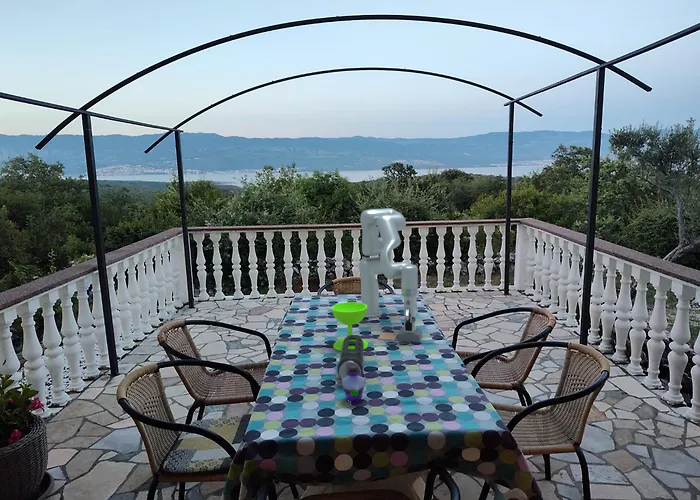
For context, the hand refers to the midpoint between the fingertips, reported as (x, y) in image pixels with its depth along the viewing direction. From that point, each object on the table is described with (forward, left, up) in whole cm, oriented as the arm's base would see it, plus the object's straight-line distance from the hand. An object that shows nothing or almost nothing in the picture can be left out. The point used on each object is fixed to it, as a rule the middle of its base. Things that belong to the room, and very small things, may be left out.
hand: (410, 327), depth 221 cm
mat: (-11, 0, -5) cm, 12 cm away
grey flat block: (0, 0, -5) cm, 5 cm away
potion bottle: (-10, -64, -6) cm, 65 cm away
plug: (0, 0, -5) cm, 5 cm away
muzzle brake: (-17, -41, -6) cm, 45 cm away
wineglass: (-25, -14, -6) cm, 29 cm away
